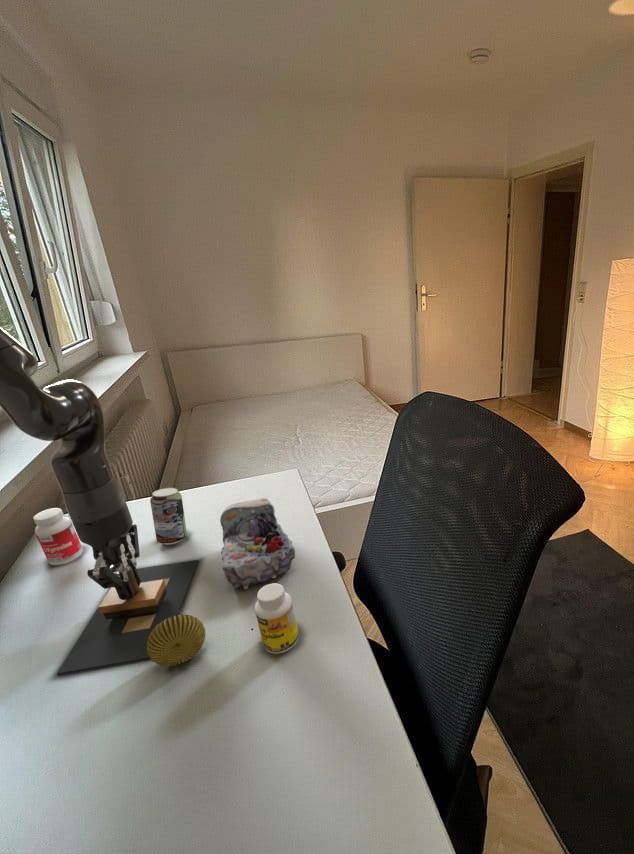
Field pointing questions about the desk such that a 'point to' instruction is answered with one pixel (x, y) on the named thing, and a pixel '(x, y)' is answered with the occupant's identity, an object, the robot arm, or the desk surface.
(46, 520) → the pill bottle
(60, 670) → the mat
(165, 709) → the desk surface
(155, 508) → the beverage can
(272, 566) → the cell model
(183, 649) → the sculpture
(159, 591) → the brush
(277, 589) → the supplement bottle
